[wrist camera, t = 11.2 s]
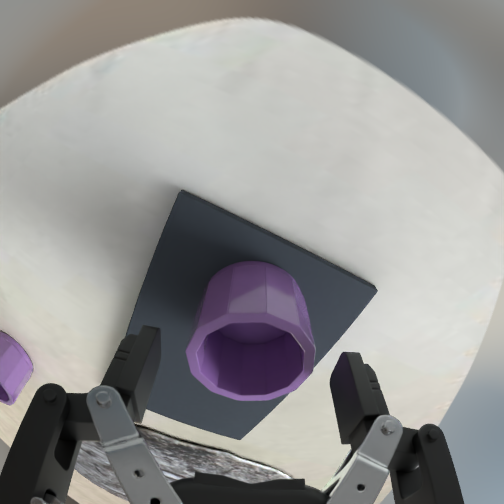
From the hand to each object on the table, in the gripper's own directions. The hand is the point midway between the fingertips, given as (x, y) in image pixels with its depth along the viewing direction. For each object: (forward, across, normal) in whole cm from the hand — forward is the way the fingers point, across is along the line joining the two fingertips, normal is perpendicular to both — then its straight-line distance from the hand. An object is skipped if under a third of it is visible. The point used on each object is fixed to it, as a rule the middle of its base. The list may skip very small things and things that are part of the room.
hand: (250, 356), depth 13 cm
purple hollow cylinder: (+4, 0, 0) cm, 4 cm away
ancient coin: (+5, +6, +35) cm, 36 cm away
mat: (+5, +2, +5) cm, 7 cm away
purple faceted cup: (+5, +22, +12) cm, 25 cm away
